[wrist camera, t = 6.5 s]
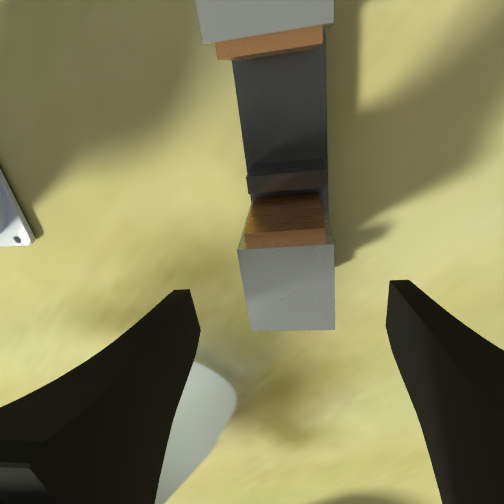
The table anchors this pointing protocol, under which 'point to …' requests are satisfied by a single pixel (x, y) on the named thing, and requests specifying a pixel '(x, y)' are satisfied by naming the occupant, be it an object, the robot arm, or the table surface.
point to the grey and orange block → (288, 262)
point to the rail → (276, 86)
